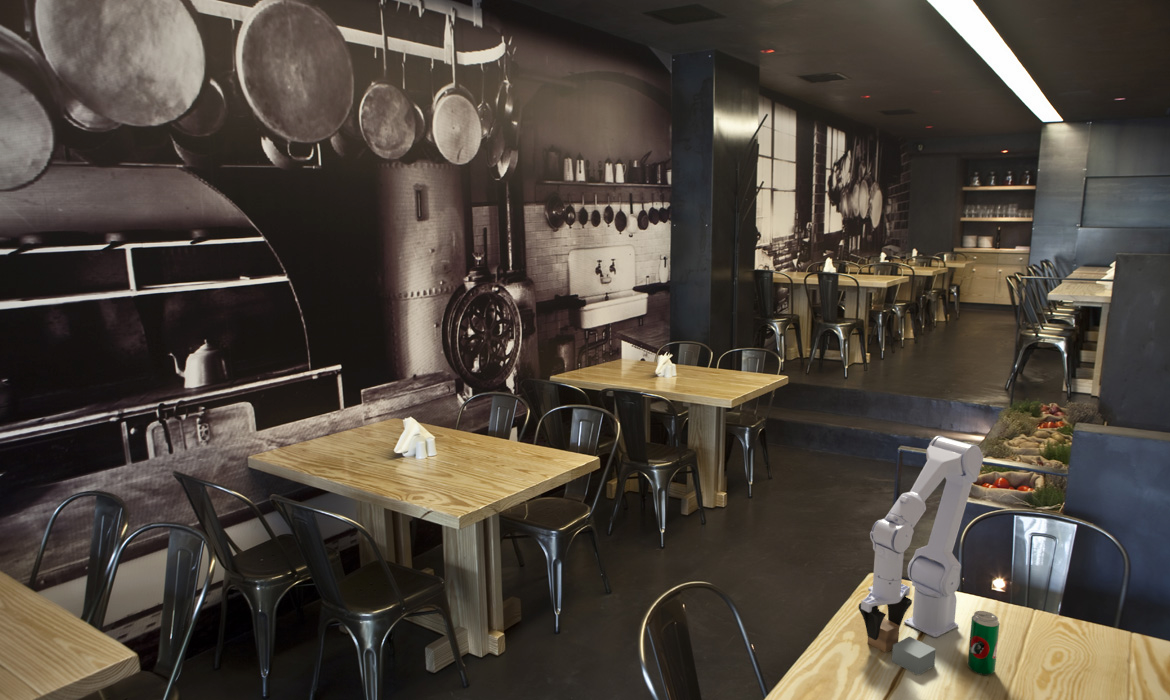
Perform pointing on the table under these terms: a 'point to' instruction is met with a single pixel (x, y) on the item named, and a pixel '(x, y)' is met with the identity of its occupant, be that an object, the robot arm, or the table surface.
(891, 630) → the walnut block
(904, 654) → the slate block
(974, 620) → the soda can
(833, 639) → the table surface
